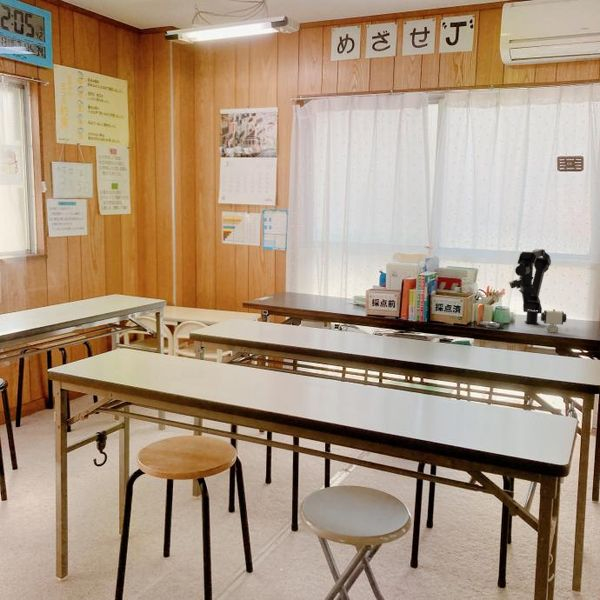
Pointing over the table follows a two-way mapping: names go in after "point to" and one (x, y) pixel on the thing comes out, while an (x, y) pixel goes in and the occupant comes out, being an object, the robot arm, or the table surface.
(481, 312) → the crank
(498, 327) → the hub plate
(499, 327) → the stop peg
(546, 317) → the pneumatic valve
